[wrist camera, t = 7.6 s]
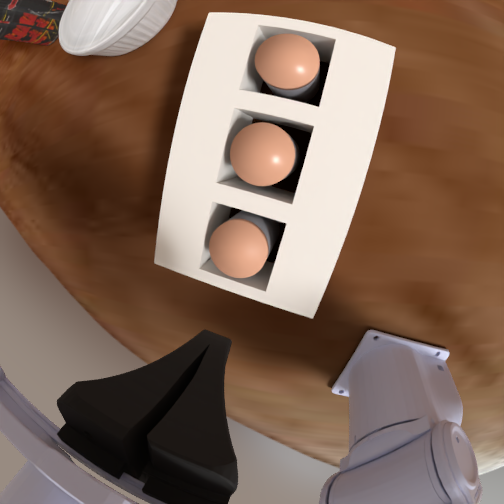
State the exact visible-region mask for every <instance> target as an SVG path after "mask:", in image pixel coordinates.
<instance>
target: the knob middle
mask: <svg viewBox="0 0 504 504" xmlns="http://www.w3.org/2000/svg"><path fill="white" fill-rule="evenodd" d="M230 160H231V164H232V167H233V169H234V171H235V172H236V173H237V175H238V176H239V177H240V178H241V179H242V180H244V181H245V182H247V183H249V184H252V185H256V186H269V185H273V184H275V183H277V182H279V181H281V180H283V179H285V178H286V177H288V176H290V175H291V174H292V173H293V172H294V171H295V170H296V168H297V167H298V165H299V162H300V150H299V147H298V145H297V143H296V141H295V140H294V139H293V138H292V137H291V136H290V135H288V134H287V133H286V132H285V131H284V130H282V129H281V128H280V127H278V126H276V125H274V124H271V123H265V122H260V123H254V124H251V125H248V126H246V127H245V128H243V129H242V130H241V131H240V132H239V133H238V134H237V135H236V136H235V138H234V140H233V142H232V144H231V148H230Z"/></svg>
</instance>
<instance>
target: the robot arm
mask: <svg viewBox="0 0 504 504" xmlns="http://www.w3.org/2000/svg"><path fill="white" fill-rule="evenodd" d="M375 336H378V337H377V338H374V337H375ZM231 343H232V341H231V340H230V339H229V338H226V337H223V336H221V335H218V334H215V333H213V332H210V331H208V330H203V331H201V332H200V333H199V334H198V335H196V336H195V337H194V338H192V339H191V340H190V341H188V342H187V343H185V344H184V345H182V346H181V347H179V348H178V349H176V350H175V351H173V352H171V353H170V354H168V355H166V356H164V357H162V358H160V359H159V360H157V361H155V362H153V363H150V364H148V365H146V366H143V367H141V368H138V369H136V370H133V371H130V372H127V373H124V374H120V375H116V376H112V377H108V378H103V379H98V380H89V381H80V382H76V383H75V384H73V385H72V386H71V387H70V388H69V389H67V391H66V392H65V393H64V394H63V395H62V396H61V397H60V398H59V399H58V400H57V406H58V408H59V410H60V412H61V414H62V416H63V418H64V420H65V422H66V424H65V425H64V426H63V427H62V428H61V429H60V428H59V427H57V426H56V425H55V424H54V423H53V422H51V421H50V420H49V419H48V418H47V417H46V416H44V415H43V414H42V413H41V412H40V411H39V410H38V409H37V408H36V407H34V406H33V404H31V403H30V402H29V401H28V400H27V399H26V398H25V397H24V396H23V395H22V394H21V393H20V392H19V391H18V389H17V388H16V387H15V386H14V385H13V384H12V383H11V382H10V381H9V380H8V379H7V378H6V376H5V373H4V371H3V370H2V368H1V366H0V431H1V432H2V433H3V434H4V435H5V437H6V438H7V439H8V440H9V441H10V442H11V443H12V444H13V445H14V446H15V448H17V450H18V451H19V452H20V453H21V454H22V455H23V456H24V457H25V458H26V459H27V460H28V461H27V462H26V464H25V465H24V466H23V467H22V468H21V470H19V472H18V473H17V474H16V475H15V476H14V478H13V479H12V480H11V481H10V483H9V484H8V485H7V486H6V487H5V489H4V490H3V491H2V492H1V494H0V504H138V503H137V502H135V501H133V500H131V499H129V498H128V497H126V496H124V495H122V494H120V493H119V492H117V491H116V490H114V489H112V488H111V487H109V486H107V485H106V484H104V483H102V482H101V481H99V480H98V479H96V478H95V477H93V476H92V475H90V474H89V473H87V472H86V471H84V470H82V469H81V468H79V467H78V466H77V465H76V464H75V463H74V462H73V461H72V460H71V458H70V456H69V455H68V454H67V453H69V454H70V455H71V456H73V457H74V458H75V459H77V460H78V461H79V462H81V463H82V464H84V465H85V466H86V467H88V468H89V469H91V470H92V471H94V472H96V473H97V474H99V475H100V476H102V477H103V478H105V479H106V480H108V481H110V482H111V483H113V484H115V485H116V486H118V487H120V488H121V489H123V490H125V491H127V492H129V493H131V494H132V495H134V496H136V497H138V498H140V499H142V500H144V501H146V502H148V503H150V504H228V502H229V499H230V496H231V495H232V494H233V493H234V492H235V490H236V489H237V485H238V470H237V459H236V456H235V453H234V449H233V446H232V442H231V438H230V434H229V429H228V424H227V418H226V410H225V399H224V374H225V365H226V361H227V358H228V354H229V351H230V347H231ZM437 352H438V353H437ZM448 356H449V351H448V350H447V349H443V348H439V347H435V346H431V345H428V344H424V343H420V342H416V341H412V340H408V339H405V338H401V337H397V336H394V335H390V334H386V333H383V332H379V331H376V330H368V331H367V332H366V333H365V335H364V337H363V339H362V340H361V342H360V344H359V345H358V347H357V349H356V351H355V352H354V354H353V356H352V357H351V359H350V360H349V362H348V364H347V365H346V367H345V368H344V370H343V372H342V373H341V375H340V376H339V378H338V379H337V381H336V382H335V384H334V385H333V387H332V392H333V393H335V394H339V395H343V396H348V397H349V454H348V455H347V456H346V457H345V458H342V459H341V460H340V472H337V473H335V474H333V475H332V476H331V477H330V478H329V479H328V480H327V481H326V483H325V484H324V486H323V488H322V491H321V494H320V501H319V504H480V500H481V497H482V486H481V483H480V479H479V475H478V466H477V461H476V457H475V454H474V451H473V448H472V446H471V443H470V441H469V439H468V437H467V435H466V434H465V432H464V431H463V429H462V428H461V427H460V425H461V421H462V415H463V407H462V401H461V398H460V396H459V393H458V391H457V388H456V386H455V383H454V381H453V378H452V376H451V374H450V371H449V369H448V367H447V364H446V362H445V360H446V359H447V358H448ZM340 390H342V391H340ZM58 445H59V446H60V447H61V448H62V449H64V450H65V451H66V452H67V453H66V452H65V451H64V450H62V449H61V448H60V447H59V446H58Z"/></svg>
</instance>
